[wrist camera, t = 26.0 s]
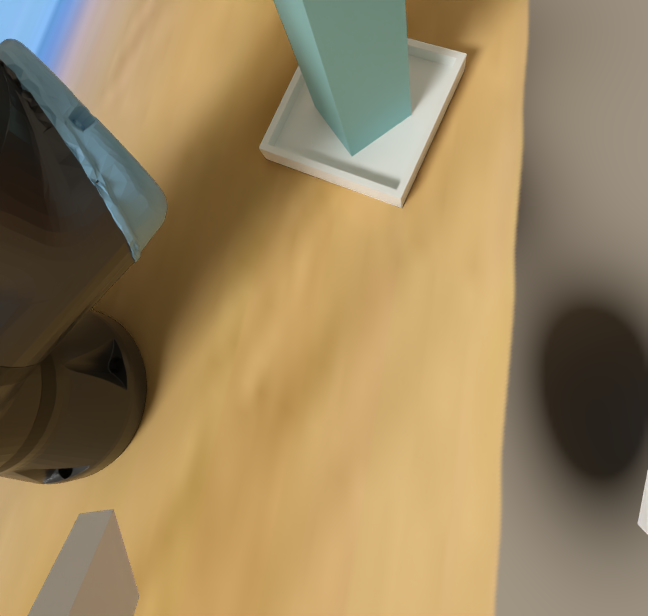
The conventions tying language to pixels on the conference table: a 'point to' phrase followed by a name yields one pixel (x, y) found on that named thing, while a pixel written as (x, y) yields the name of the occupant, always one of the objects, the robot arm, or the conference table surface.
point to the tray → (385, 152)
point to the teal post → (352, 63)
